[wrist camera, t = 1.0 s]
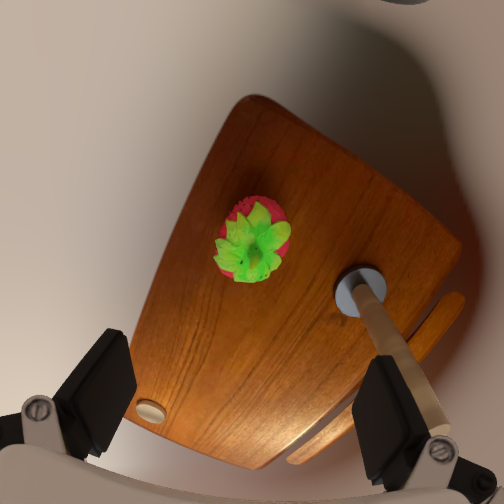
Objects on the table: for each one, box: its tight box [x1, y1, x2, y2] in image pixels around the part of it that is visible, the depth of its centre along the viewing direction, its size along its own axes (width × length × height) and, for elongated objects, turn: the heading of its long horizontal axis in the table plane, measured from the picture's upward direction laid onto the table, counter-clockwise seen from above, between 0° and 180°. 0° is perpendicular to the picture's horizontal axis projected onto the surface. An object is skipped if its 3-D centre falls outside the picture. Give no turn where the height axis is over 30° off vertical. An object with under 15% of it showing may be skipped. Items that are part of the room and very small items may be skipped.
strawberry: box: [213, 195, 291, 283], centre depth 24 cm, size 6×7×10 cm
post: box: [334, 265, 451, 437], centre depth 21 cm, size 6×6×20 cm
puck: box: [136, 400, 166, 423], centre depth 39 cm, size 5×5×1 cm
